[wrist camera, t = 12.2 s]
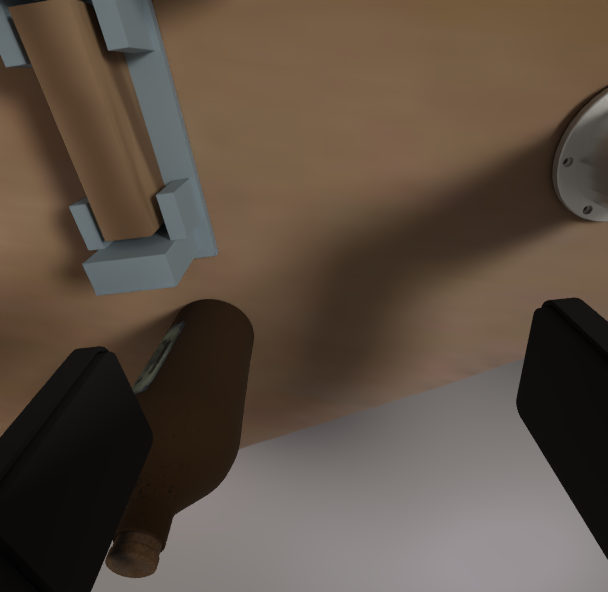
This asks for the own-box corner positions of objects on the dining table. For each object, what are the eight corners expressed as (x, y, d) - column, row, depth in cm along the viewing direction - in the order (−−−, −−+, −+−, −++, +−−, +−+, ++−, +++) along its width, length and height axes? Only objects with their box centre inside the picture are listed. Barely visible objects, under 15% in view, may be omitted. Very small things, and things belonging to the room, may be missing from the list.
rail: (110, 10, 29) (67, -3, 24) (173, 213, 37) (151, 236, 32) (60, 18, 29) (7, 7, 24) (133, 217, 37) (105, 241, 32)
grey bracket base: (129, -83, 27) (58, -144, 20) (218, 251, 40) (196, 294, 33) (-2, -58, 28) (-121, -107, 20) (127, 262, 41) (85, 307, 33)
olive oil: (274, 318, 45) (242, 551, 23) (236, 378, 49) (180, 617, 28) (188, 278, 42) (61, 497, 20) (157, 345, 47) (27, 580, 25)
